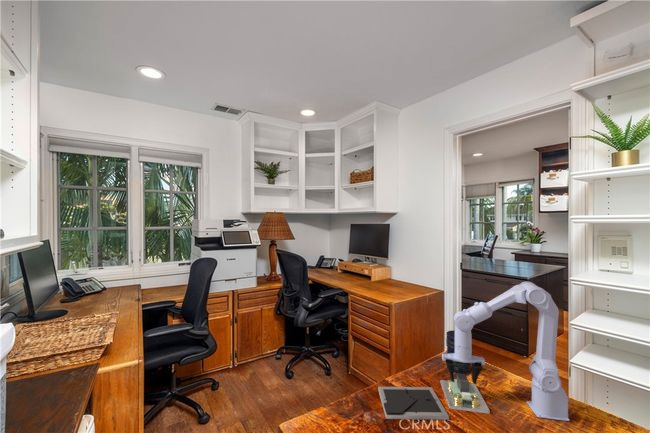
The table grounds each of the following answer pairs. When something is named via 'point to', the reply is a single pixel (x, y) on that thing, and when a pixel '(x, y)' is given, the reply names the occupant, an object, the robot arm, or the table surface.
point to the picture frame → (411, 403)
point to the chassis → (461, 404)
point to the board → (455, 390)
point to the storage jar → (450, 342)
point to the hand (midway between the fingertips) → (462, 381)
